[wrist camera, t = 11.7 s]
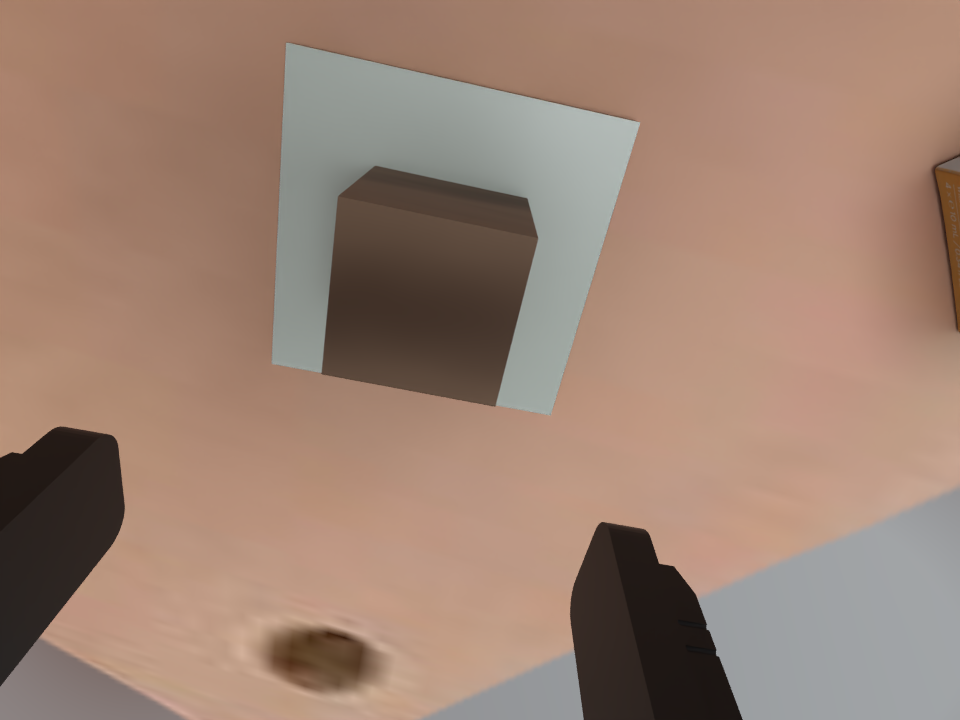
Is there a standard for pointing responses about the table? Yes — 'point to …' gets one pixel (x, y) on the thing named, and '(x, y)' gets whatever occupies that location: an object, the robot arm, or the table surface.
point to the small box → (951, 219)
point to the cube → (426, 284)
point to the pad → (451, 157)
